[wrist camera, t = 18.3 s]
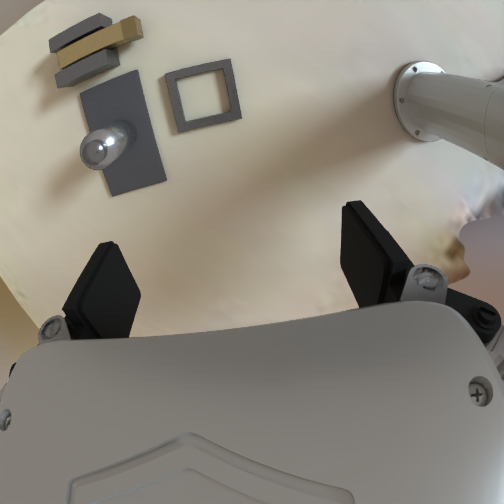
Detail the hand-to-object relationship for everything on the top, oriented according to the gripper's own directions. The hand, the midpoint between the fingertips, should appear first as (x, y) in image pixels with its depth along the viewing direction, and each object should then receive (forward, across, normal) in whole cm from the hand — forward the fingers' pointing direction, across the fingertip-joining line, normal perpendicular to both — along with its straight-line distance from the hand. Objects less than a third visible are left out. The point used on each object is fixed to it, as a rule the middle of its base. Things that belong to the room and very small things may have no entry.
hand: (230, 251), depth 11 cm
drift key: (+23, +13, -16) cm, 31 cm away
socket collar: (+25, +3, -5) cm, 26 cm away
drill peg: (+24, +13, -3) cm, 28 cm away
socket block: (+24, +15, -16) cm, 33 cm away
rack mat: (+24, +14, -3) cm, 28 cm away
